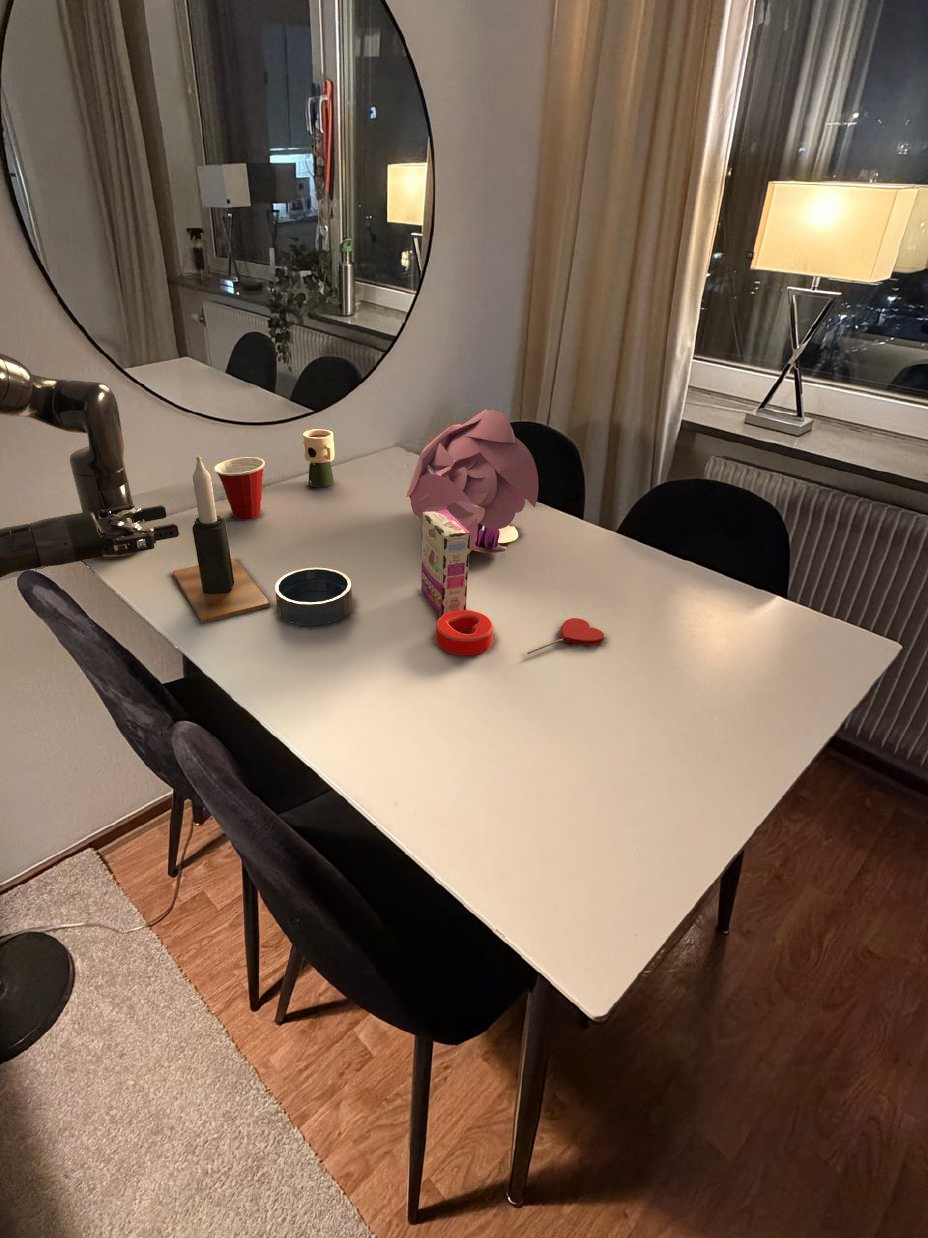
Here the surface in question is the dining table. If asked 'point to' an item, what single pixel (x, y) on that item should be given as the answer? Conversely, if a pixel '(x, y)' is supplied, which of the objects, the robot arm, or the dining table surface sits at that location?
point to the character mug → (319, 456)
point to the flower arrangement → (477, 479)
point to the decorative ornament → (464, 643)
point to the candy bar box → (444, 561)
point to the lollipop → (577, 633)
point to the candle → (210, 537)
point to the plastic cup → (242, 485)
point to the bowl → (313, 596)
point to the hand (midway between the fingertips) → (171, 520)
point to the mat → (221, 594)
